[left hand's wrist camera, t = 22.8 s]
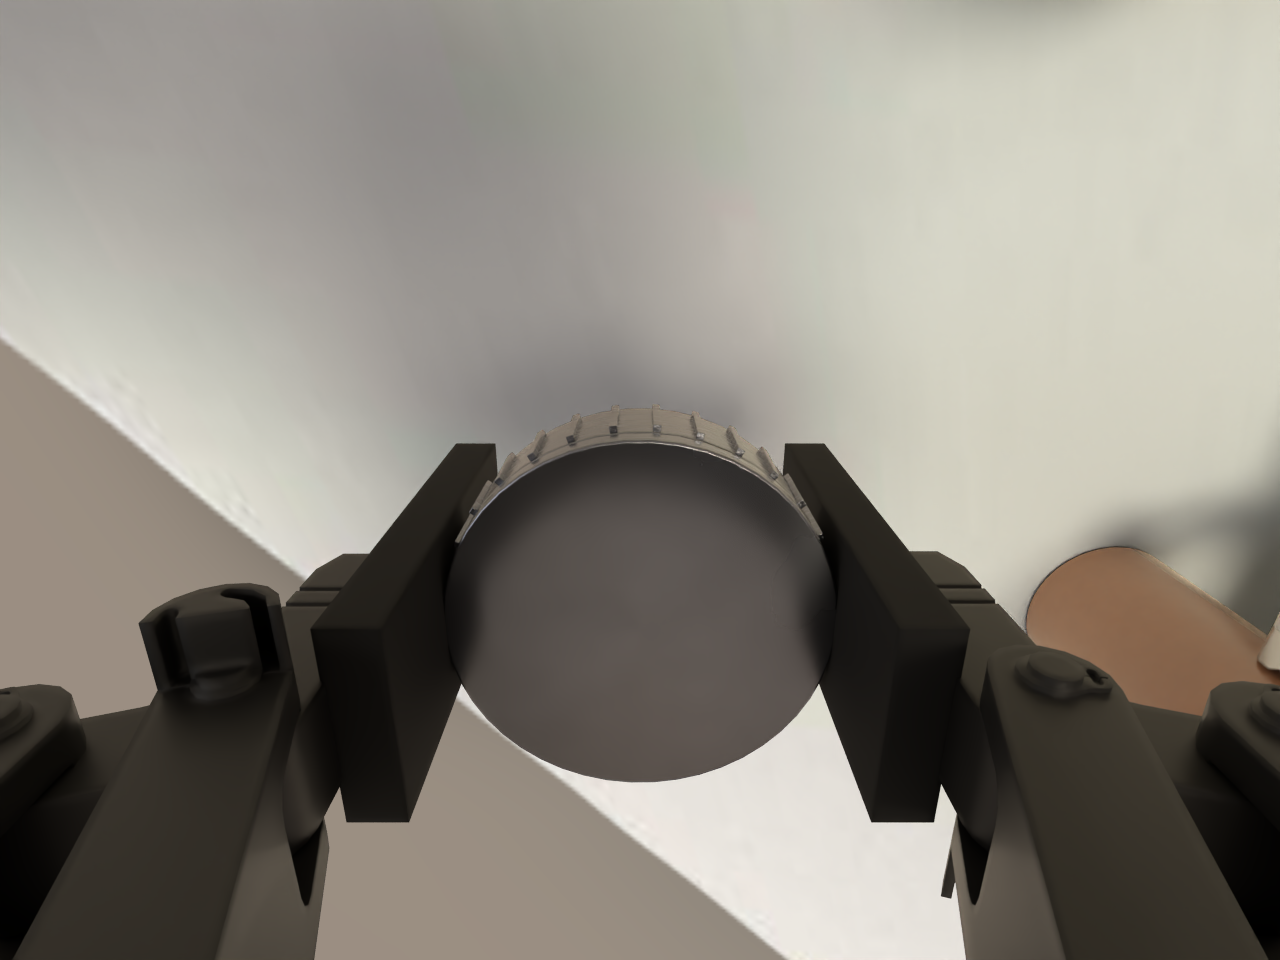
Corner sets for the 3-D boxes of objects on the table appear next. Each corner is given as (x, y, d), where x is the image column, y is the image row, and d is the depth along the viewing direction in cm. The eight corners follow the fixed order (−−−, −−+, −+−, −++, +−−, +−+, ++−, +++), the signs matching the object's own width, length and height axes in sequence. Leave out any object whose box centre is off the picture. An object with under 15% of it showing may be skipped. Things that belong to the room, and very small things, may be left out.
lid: (483, 370, 11) (456, 397, 9) (861, 439, 11) (898, 477, 9) (447, 690, 13) (420, 757, 11) (768, 740, 13) (785, 811, 11)
